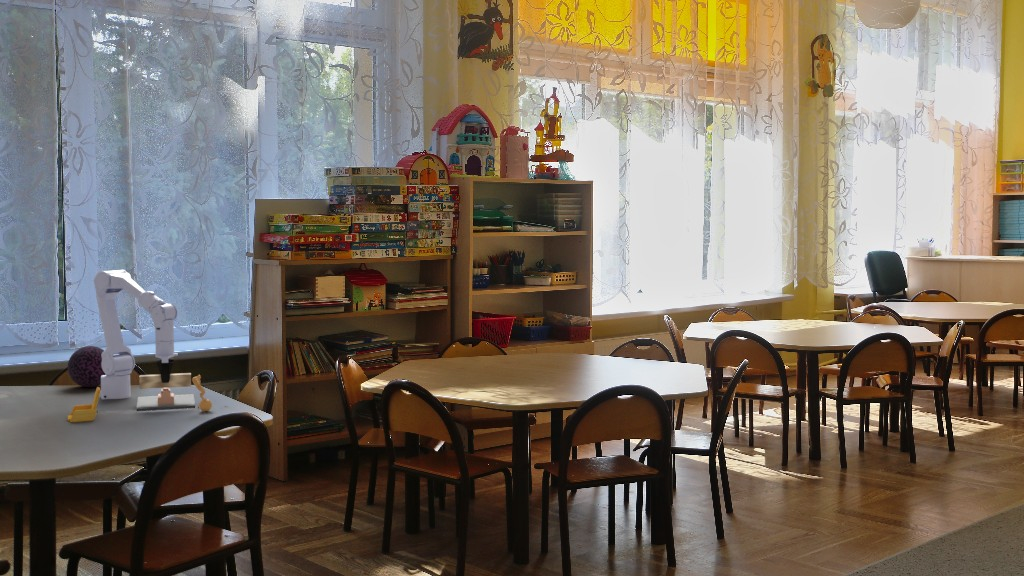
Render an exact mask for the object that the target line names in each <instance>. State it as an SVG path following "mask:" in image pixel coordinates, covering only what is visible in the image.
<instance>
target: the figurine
mask: <svg viewBox="0 0 1024 576" xmlns="http://www.w3.org/2000/svg"><path fill="white" fill-rule="evenodd" d="M201 378H202V376H201V375H200V374H198V375H197V376H194V377H191V383H193V384H194V386H195V388H196V389H197V390H198V391H200V393H199V397H200V398H201V399H202V400H201V401H199V404H198V407H199V410H200V411H202V412H204V413H205V412H208V411H210V410H211V409H212V408H213V404H212V401H211V400H210V399H208V398H206V397H205V398H204V395H205V394H206V390H205V389H204V387H203V386H202V385H201Z"/></svg>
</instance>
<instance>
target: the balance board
mask: <svg viewBox="0 0 1024 576" xmlns="http://www.w3.org/2000/svg"><path fill="white" fill-rule="evenodd" d="M160 390H161V392H160V393H158V394H157V395H149V396H146V395H145V396H138V397H137V401H136V406H135V407H136V412H147V411H149V412H150V411H151V410H152V411H166V410H168V411H169V410H170V411H171V410H181V409H182V410H184V409H185V410H186V409H187V408H188V409H196V401H195V394H194V393H190V394H188V393H187V394H175V393H174V392H171V388H169V387H168V388H160Z"/></svg>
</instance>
